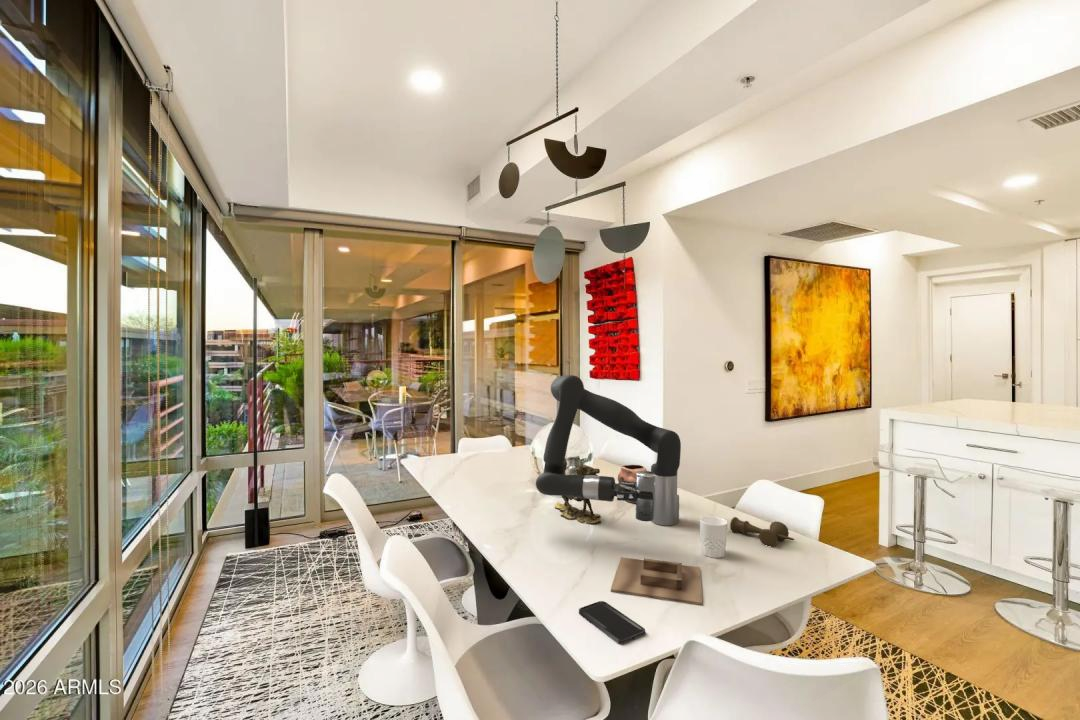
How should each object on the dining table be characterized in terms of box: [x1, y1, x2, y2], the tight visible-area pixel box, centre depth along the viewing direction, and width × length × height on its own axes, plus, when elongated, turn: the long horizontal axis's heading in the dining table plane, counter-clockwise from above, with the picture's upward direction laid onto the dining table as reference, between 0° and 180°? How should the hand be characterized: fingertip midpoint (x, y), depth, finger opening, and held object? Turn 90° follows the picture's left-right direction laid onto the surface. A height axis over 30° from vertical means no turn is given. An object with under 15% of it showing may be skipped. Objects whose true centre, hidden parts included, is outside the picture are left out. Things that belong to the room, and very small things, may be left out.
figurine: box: [554, 458, 602, 525], centre depth 179 cm, size 13×25×20 cm, turn 31°
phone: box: [578, 600, 646, 645], centre depth 107 cm, size 8×1×15 cm
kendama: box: [729, 516, 795, 548], centre depth 156 cm, size 6×10×20 cm
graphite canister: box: [635, 470, 655, 522], centre depth 147 cm, size 6×6×14 cm
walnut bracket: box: [610, 556, 703, 606], centre depth 127 cm, size 22×20×3 cm
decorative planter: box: [617, 464, 648, 504], centre depth 198 cm, size 20×12×14 cm, turn 22°
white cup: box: [699, 515, 728, 559], centre depth 145 cm, size 8×8×10 cm
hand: (653, 493), depth 146 cm, fingers closed on graphite canister, 5 cm apart
